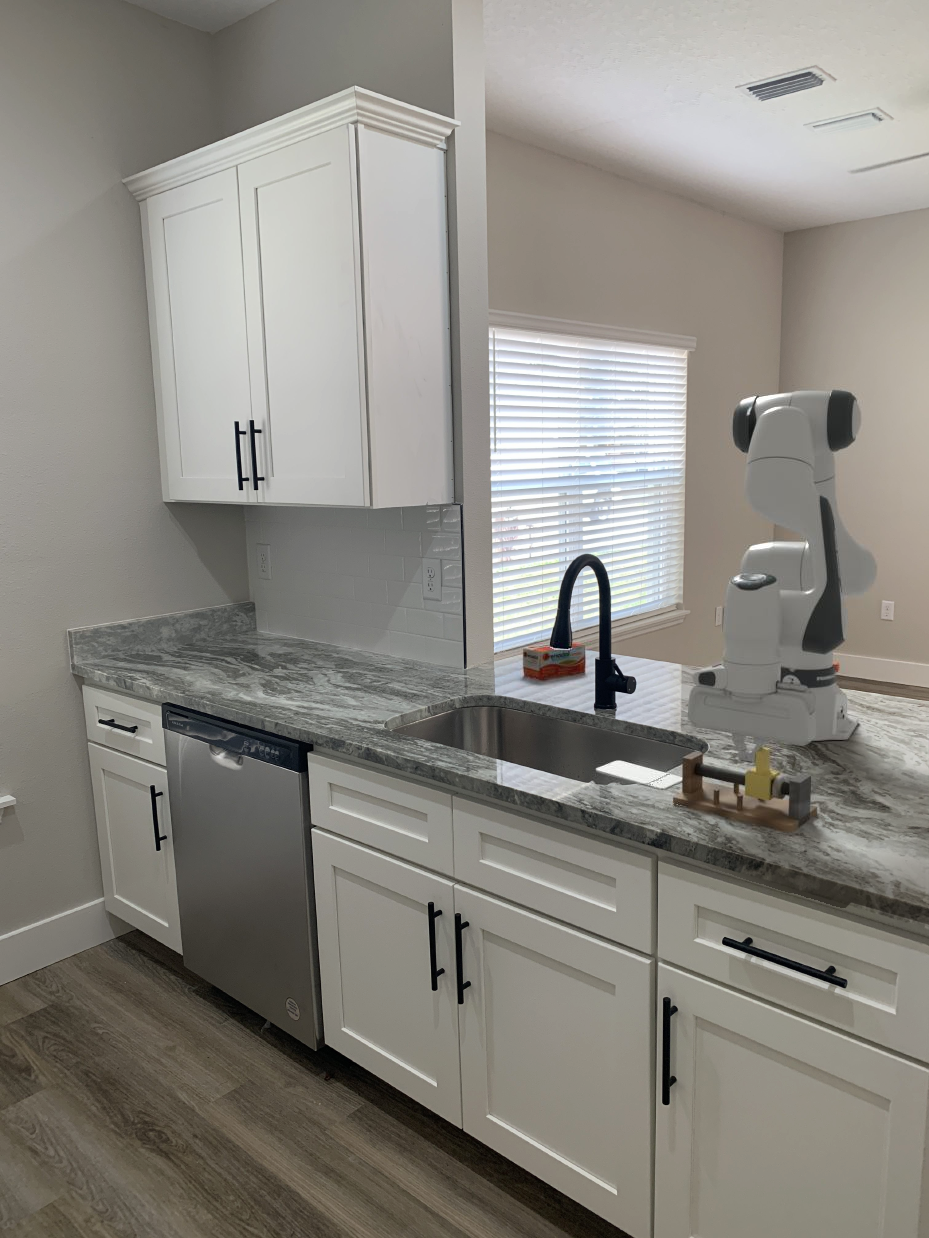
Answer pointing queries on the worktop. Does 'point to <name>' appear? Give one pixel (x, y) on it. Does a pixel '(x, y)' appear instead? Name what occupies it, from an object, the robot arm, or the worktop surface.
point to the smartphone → (638, 774)
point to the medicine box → (553, 661)
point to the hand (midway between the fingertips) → (748, 761)
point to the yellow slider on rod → (737, 803)
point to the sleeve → (760, 777)
